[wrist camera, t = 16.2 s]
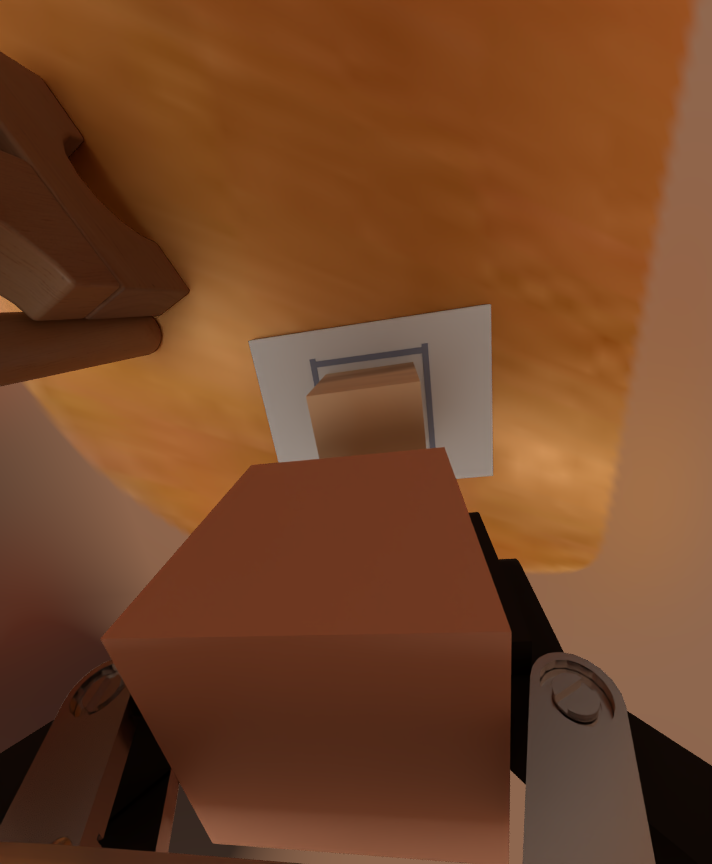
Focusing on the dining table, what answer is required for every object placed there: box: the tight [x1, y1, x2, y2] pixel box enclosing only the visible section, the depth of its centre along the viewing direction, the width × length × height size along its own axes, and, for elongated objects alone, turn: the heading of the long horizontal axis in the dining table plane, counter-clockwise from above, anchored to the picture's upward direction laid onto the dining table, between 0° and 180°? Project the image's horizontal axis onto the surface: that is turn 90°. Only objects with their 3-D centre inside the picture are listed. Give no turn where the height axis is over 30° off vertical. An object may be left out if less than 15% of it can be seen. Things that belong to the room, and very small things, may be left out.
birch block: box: [306, 362, 426, 459], centre depth 21 cm, size 6×6×6 cm
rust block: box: [101, 447, 511, 864], centre depth 9 cm, size 6×6×6 cm
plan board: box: [248, 304, 493, 479], centre depth 25 cm, size 12×16×1 cm
